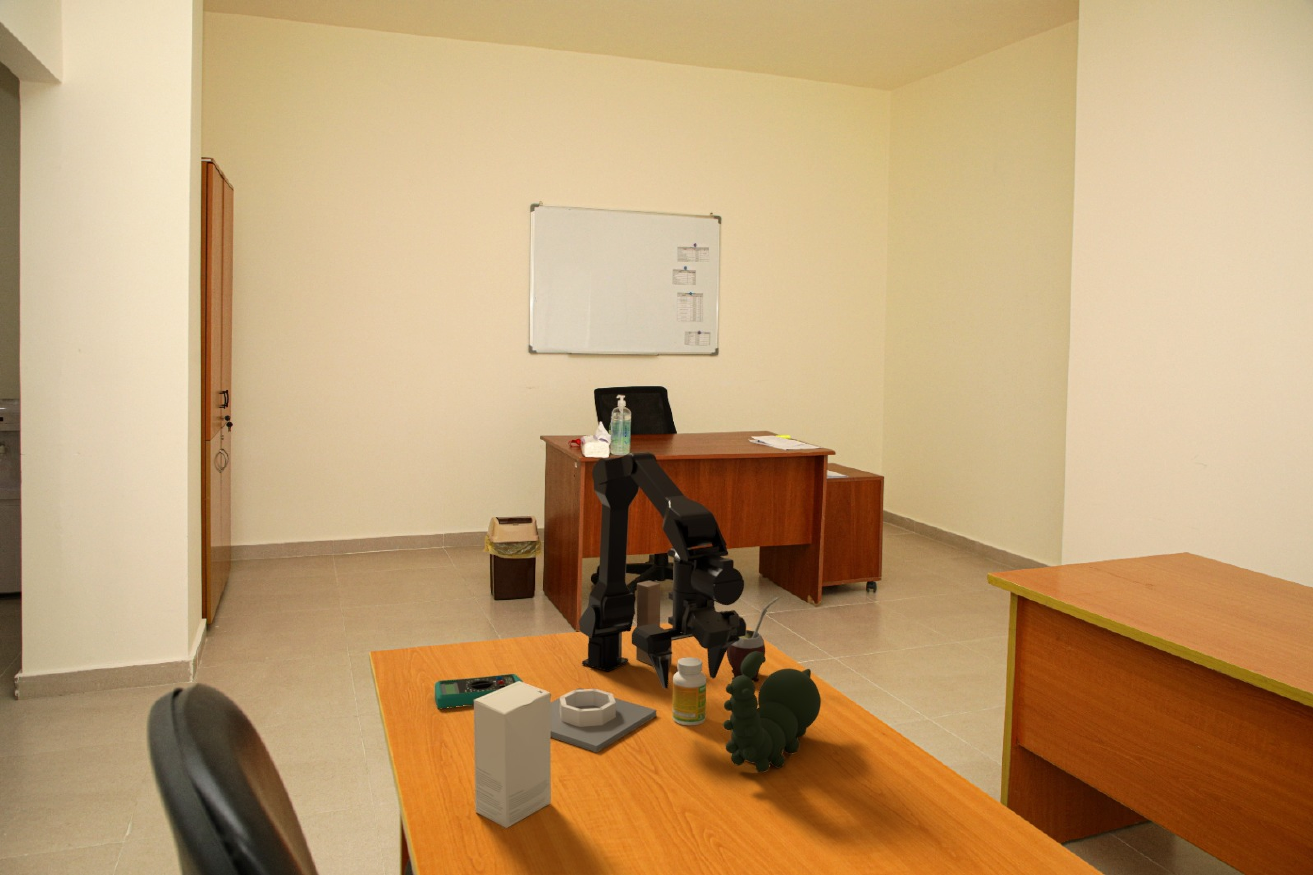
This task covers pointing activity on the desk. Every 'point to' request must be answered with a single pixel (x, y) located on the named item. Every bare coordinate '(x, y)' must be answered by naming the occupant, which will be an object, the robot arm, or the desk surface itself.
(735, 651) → the mate gourd
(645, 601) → the wooden block
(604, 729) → the ring holder
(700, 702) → the supplement bottle
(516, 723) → the skincare box
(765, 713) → the toy figurine
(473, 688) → the digital multimeter
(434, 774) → the desk surface
